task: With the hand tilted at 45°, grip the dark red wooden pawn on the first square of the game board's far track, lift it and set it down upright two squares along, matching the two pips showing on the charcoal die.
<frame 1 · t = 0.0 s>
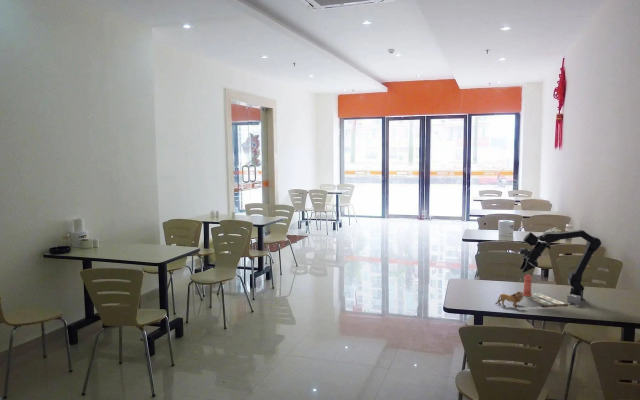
hand: (521, 270, 293), 15 cm above the table, tool tilted 35°, fingers open, 9 cm apart
board: (542, 301, 280), on the table
lion figurine: (509, 306, 270), on the table
pawn: (527, 295, 287), point 1 cm above the table, touching board
die: (573, 304, 275), on the table
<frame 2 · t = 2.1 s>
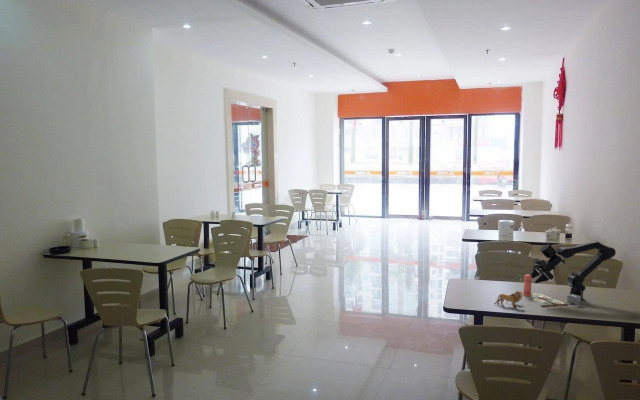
hand: (532, 281, 287), 10 cm above the table, tool tilted 45°, fingers open, 9 cm apart
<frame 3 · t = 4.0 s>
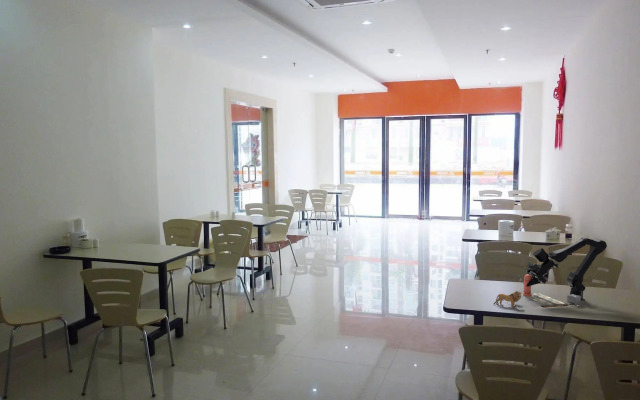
hand: (525, 285, 287), 8 cm above the table, tool tilted 45°, fingers closed on pawn, 4 cm apart
pawn: (527, 295, 287), point 1 cm above the table, touching board, gripper
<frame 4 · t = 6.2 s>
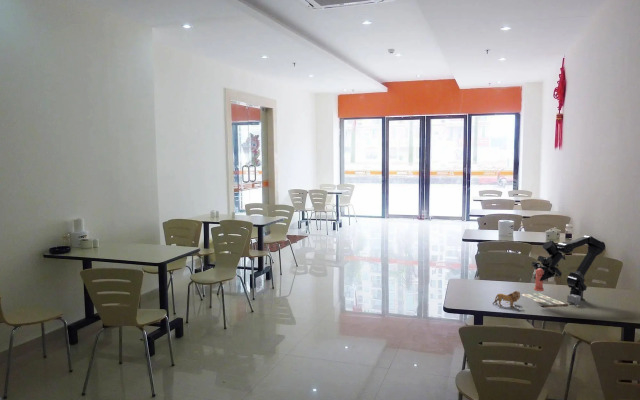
hand: (537, 279, 276), 13 cm above the table, tool tilted 45°, fingers closed on pawn, 4 cm apart
pawn: (538, 290, 277), point 7 cm above the table, touching gripper
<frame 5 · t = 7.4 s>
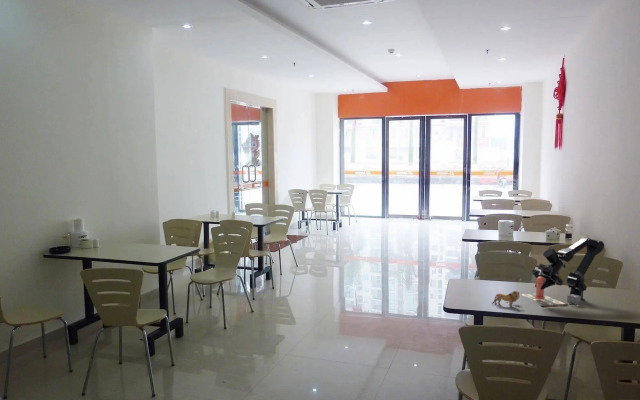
hand: (538, 288, 276), 9 cm above the table, tool tilted 45°, fingers closed on pawn, 4 cm apart
pawn: (539, 298, 277), point 3 cm above the table, touching gripper
when the fingers open (8 cm above the table, at t = 8.2 s): pawn stays where it is, resting on board.
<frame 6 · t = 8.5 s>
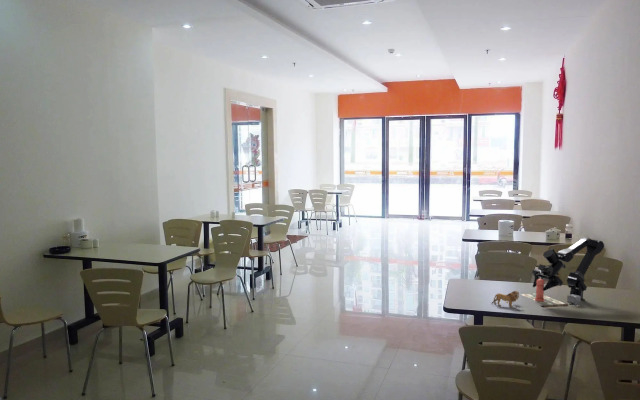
hand: (538, 288, 276), 9 cm above the table, tool tilted 45°, fingers open, 7 cm apart
pawn: (539, 300, 277), point 1 cm above the table, touching board
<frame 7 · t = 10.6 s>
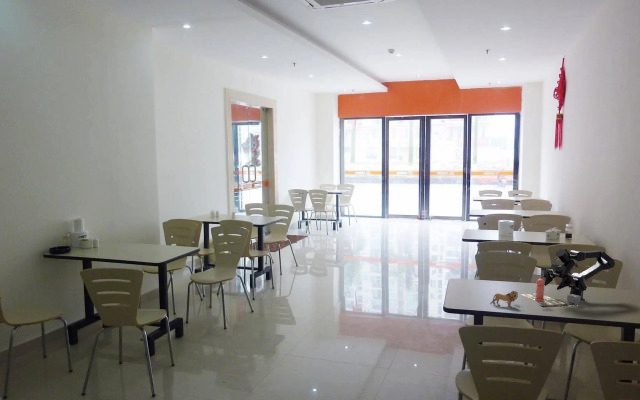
hand: (550, 287, 279), 8 cm above the table, tool tilted 45°, fingers open, 9 cm apart
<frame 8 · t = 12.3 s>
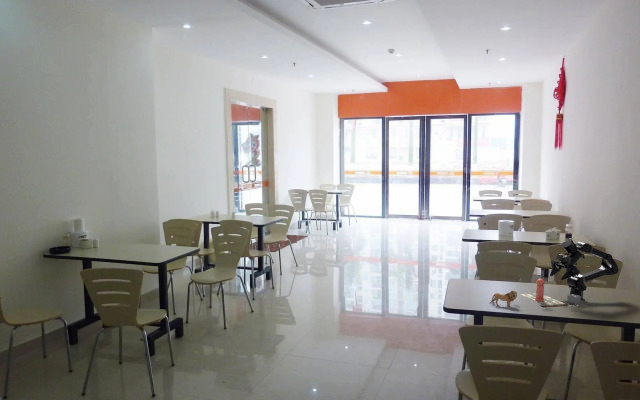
hand: (555, 277, 281), 14 cm above the table, tool tilted 45°, fingers open, 9 cm apart
at the end: pawn 0.0 cm from the target spot, point 1.4 cm above the table; pawn tilted 0°; the gripper is holding nothing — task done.
